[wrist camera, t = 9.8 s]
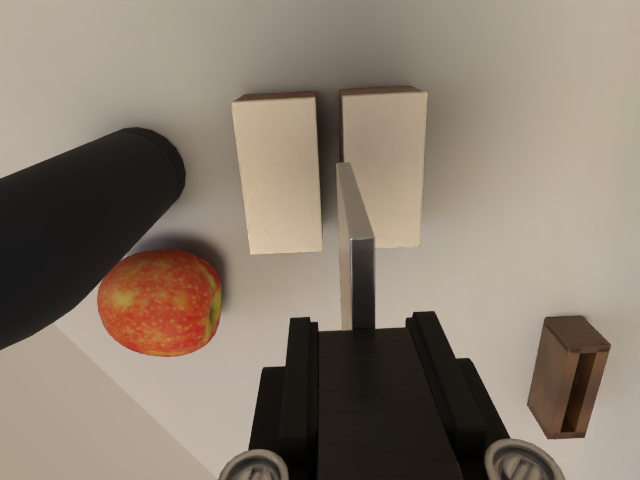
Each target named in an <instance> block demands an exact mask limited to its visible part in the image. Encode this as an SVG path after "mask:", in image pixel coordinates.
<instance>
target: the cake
mask: <svg viewBox="0 0 640 480" xmlns="http://www.w3.org/2000/svg"><path fill="white" fill-rule="evenodd" d="M231 110H232V117H233V125H234V133H235V140H236V148H237V156H238V163H239V171H240V179H241V186H242V194H243V202H244V209H245V217H246V225H247V232H248V240H249V248H250V254H251V255H254V254H275V253H296V252H317V251H323V231H322V208H321V189H320V169H319V149H318V130H317V110H316V92H315V91H304V92H286V93H267V94H248V95H243V96H242V97H240V98H238V99H237V100H235V101H233V102H232V103H231Z"/></svg>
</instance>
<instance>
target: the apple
mask: <svg viewBox="0 0 640 480" xmlns="http://www.w3.org/2000/svg"><path fill="white" fill-rule="evenodd" d="M97 303H98V312H99V315H100V317H101V320H102V323H103V325H104V327H105V328H106V330H107V332H108V333H109V334H110V335H111V336H112V337H113V338H114V339H115V340H116V341H117V342H118V343H120V344H121V345H123V346H125V347H126V348H128V349H130V350H132V351H135V352H139V353H141V354H145V355H152V356H163V357H172V356H181V355H185V354H189V353H192V352H194V351H196V350H198V349H200V348H202V347H204V346H205V345H206V344H207V343H208V342H209V341H210V340H211V339H212V338H213V336H214V335H215V333H216V330H217V328H218V325H219V320H220V315H221V281H220V278H219V275H218V274H217V272H216V271H215V270H214V268H213V267H212V266H211V265H210V264H209V263H207V262H206V261H205V260H203V259H202V258H200V257H198V256H196V255H193V254H191V253H188V252H184V251H180V250H173V249H159V250H149V251H144V252H140V253H137V254H134V255H131V256H129V257H127V258H125V259H123V260H121V261H120V262H118V263H117V264H116V265H115V266H114V267H113V268H112V270H111V271H110V272H109V273H108V274H107V275H106V276H105V277H104V279H103V280H102V282H101V284H100V287H99V290H98V295H97Z"/></svg>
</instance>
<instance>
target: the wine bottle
mask: <svg viewBox="0 0 640 480" xmlns="http://www.w3.org/2000/svg"><path fill="white" fill-rule="evenodd" d="M185 175H186V173H185V169H184V165H183V160H182V159H181V157H180V155H179V153H178V152H177V150H176V148H175V147H174V146H173V145H172V144H171V143H170V142H169V141H168V140H167V139H166V138H165V137H163V136H161V135H159V134H157V133H155V132H154V131H152V130H147V129H143V128H138V127H135V128H125V129H121V130H119V131H116V132H114V133H112V134H109V135H107V136H104V137H102V138H99V139H97V140H94V141H92V142H89V143H87V144H85V145H82V146H80V147H77V148H75V149H72V150H70V151H67V152H65V153H62V154H60V155H57V156H55V157H53V158H50V159H48V160H45V161H43V162H40V163H38V164H35V165H33V166H30V167H28V168H26V169H23V170H21V171H18V172H16V173H13V174H11V175H8V176H6V177H3V178H1V179H0V350H2V349H4V348H6V347H8V346H10V345H12V344H15V343H17V342H19V341H21V340H24V339H26V338H28V337H30V336H32V335H34V334H35V333H37V332H38V331H40V330H42V329H43V328H45V327H46V326H48V325H50V324H52V323H53V322H55V321H56V320H58V319H59V318H61V317H62V316H63V315H65V314H66V313H68V312H69V311H71V310H72V309H73V308H75V307H76V306H77V305H78V304H79V303H80V302H81V301H82V300H83V299H84V298H85V297H86V296H87V295H88V294H89V293H90V292H91V291H92V290H93V289H94V288H95V287H96V286H97V284H98V283H99V282H100V281H101V280H102V279H103V278H104V277H105V276H106V275H107V274H108V273H109V272H110V271H111V270H112V268H113V267H114V266H115V265H116V264H117V263H118V262H119V261H120V260H121V259H122V258H123V257H124V256H125V255H126V254H127V252H128V251H129V250H130V249H131V248H132V247H133V246H134V245H135V244H136V243H137V242H138V241H139V240H140V239H141V238H142V236H143V235H144V234H145V233H146V232H147V231H148V230H149V229H150V228H151V227H152V226H153V225H154V224H155V223H156V222H157V220H158V219H159V218H160V217H161V216H162V215H163V214H164V213H165V212H166V211H167V210H168V209H169V208H170V207H171V205H172V204H173V203H174V202H175V201H176V200H177V199H178V198H179V196H180V194H181V192H182V190H183V188H184V185H185Z"/></svg>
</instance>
